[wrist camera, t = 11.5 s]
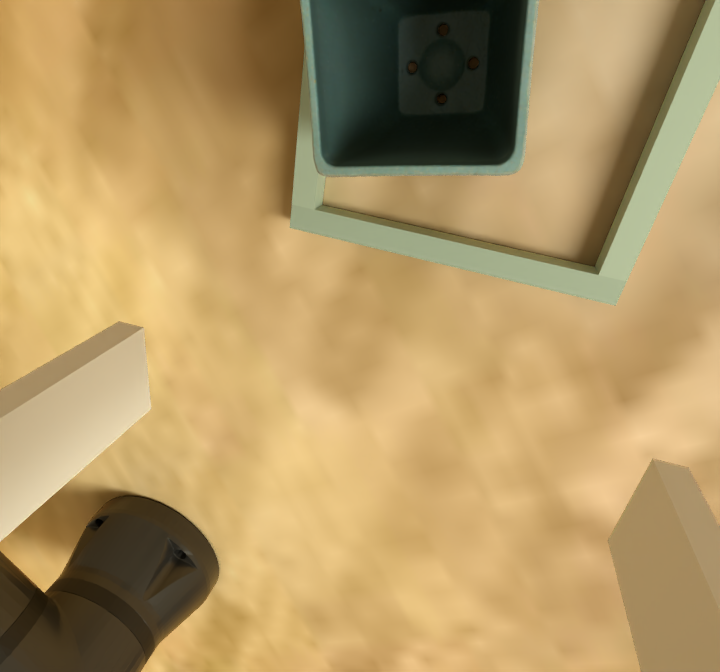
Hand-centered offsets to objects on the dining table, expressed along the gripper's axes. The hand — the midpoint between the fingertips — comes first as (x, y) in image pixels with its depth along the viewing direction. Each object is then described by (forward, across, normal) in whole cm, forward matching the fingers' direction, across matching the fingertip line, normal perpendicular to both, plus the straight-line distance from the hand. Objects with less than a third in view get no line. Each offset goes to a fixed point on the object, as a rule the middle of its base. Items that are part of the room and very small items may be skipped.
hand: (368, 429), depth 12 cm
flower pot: (+20, +2, -9) cm, 22 cm away
